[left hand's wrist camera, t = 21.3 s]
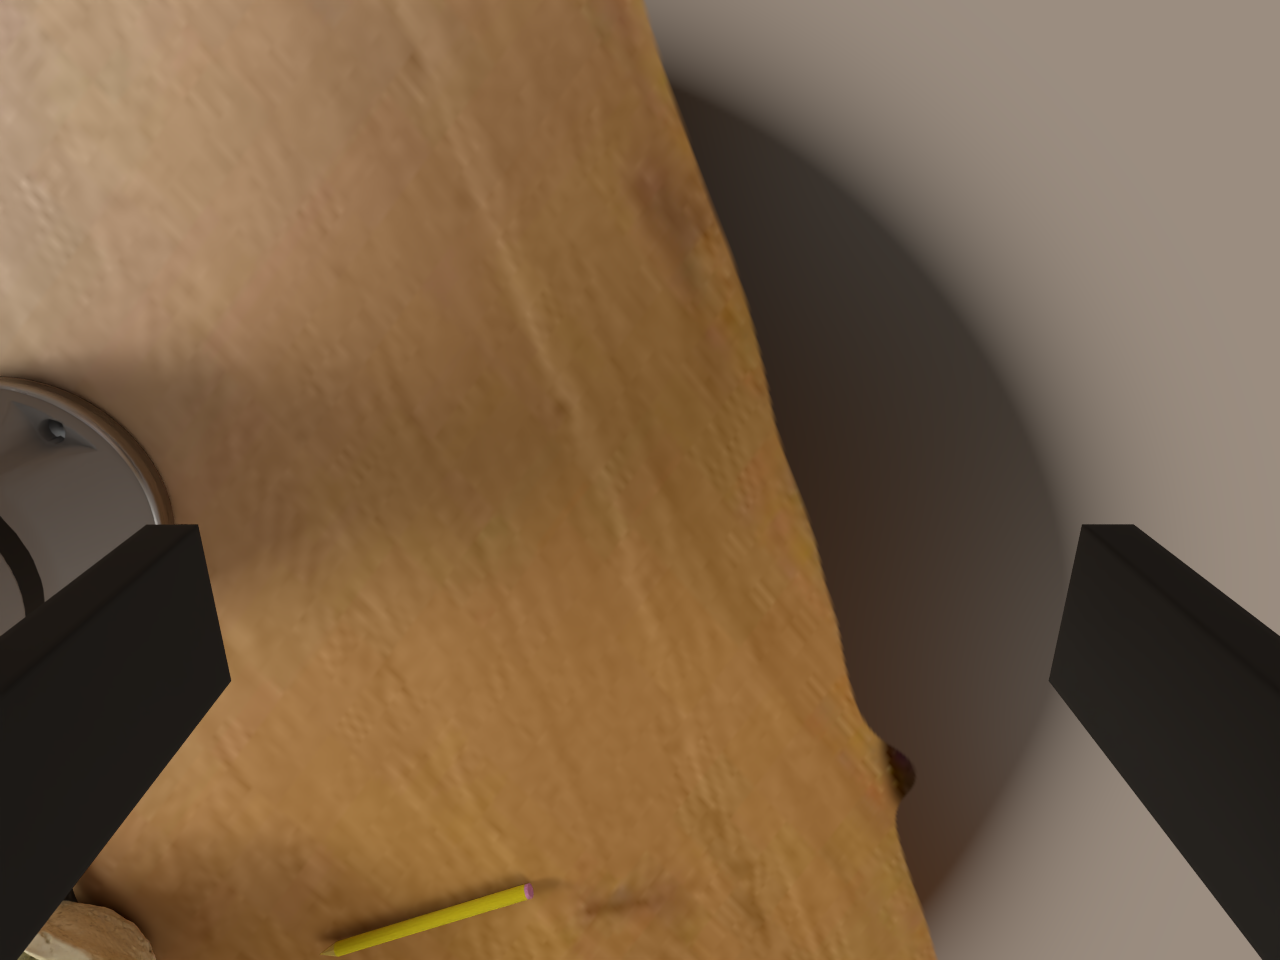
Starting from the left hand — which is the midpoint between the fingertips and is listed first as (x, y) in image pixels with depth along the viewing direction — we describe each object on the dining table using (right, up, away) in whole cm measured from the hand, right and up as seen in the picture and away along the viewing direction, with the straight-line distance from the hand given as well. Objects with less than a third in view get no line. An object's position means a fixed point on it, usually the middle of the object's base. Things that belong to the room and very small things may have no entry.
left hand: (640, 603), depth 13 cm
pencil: (-15, -29, +47) cm, 57 cm away
